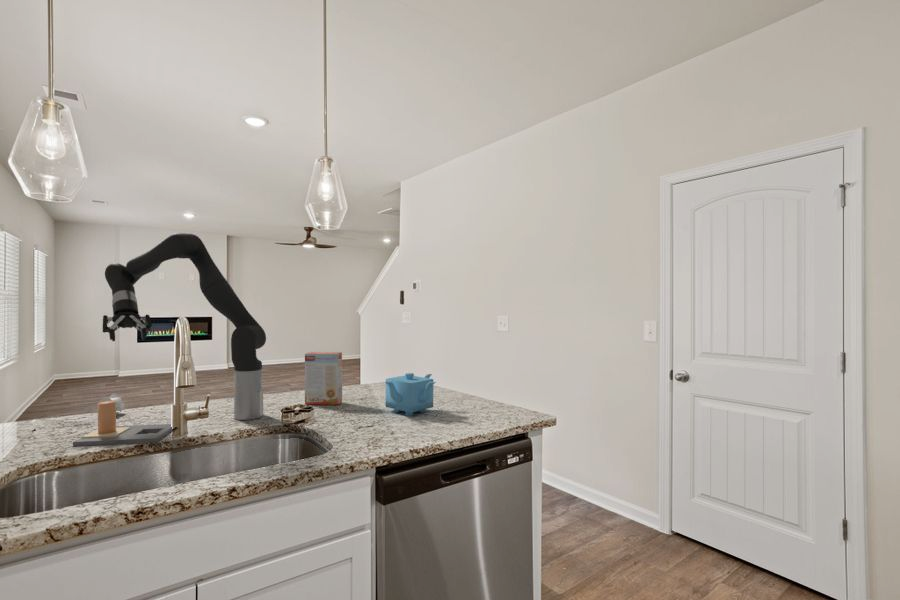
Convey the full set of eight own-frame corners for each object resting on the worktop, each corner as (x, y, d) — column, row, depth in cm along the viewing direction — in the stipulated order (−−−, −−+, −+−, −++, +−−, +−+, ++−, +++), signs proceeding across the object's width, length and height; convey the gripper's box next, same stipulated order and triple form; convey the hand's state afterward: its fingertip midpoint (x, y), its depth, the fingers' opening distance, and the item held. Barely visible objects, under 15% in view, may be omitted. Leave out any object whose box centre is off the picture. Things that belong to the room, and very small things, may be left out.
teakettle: (386, 406, 186) (386, 369, 186) (433, 405, 188) (433, 369, 188) (384, 419, 167) (384, 378, 167) (436, 417, 169) (436, 377, 169)
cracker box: (342, 402, 193) (342, 351, 193) (337, 405, 187) (337, 353, 187) (310, 401, 194) (310, 351, 194) (304, 404, 188) (304, 353, 188)
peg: (118, 429, 147) (118, 400, 147) (111, 433, 142) (111, 404, 142) (102, 430, 146) (102, 401, 146) (94, 434, 141) (94, 404, 141)
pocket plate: (177, 427, 155) (177, 422, 155) (155, 442, 139) (155, 436, 139) (103, 430, 151) (103, 425, 151) (72, 446, 135) (72, 440, 135)
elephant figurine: (121, 416, 168) (121, 396, 168) (91, 417, 166) (91, 397, 166) (131, 411, 176) (131, 392, 176) (102, 412, 174) (102, 393, 174)
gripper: (101, 298, 164) (104, 332, 155) (149, 298, 173) (154, 331, 164) (100, 312, 168) (102, 347, 159) (147, 312, 177) (151, 344, 168)
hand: (129, 339), depth 162 cm, fingers open, 8 cm apart
